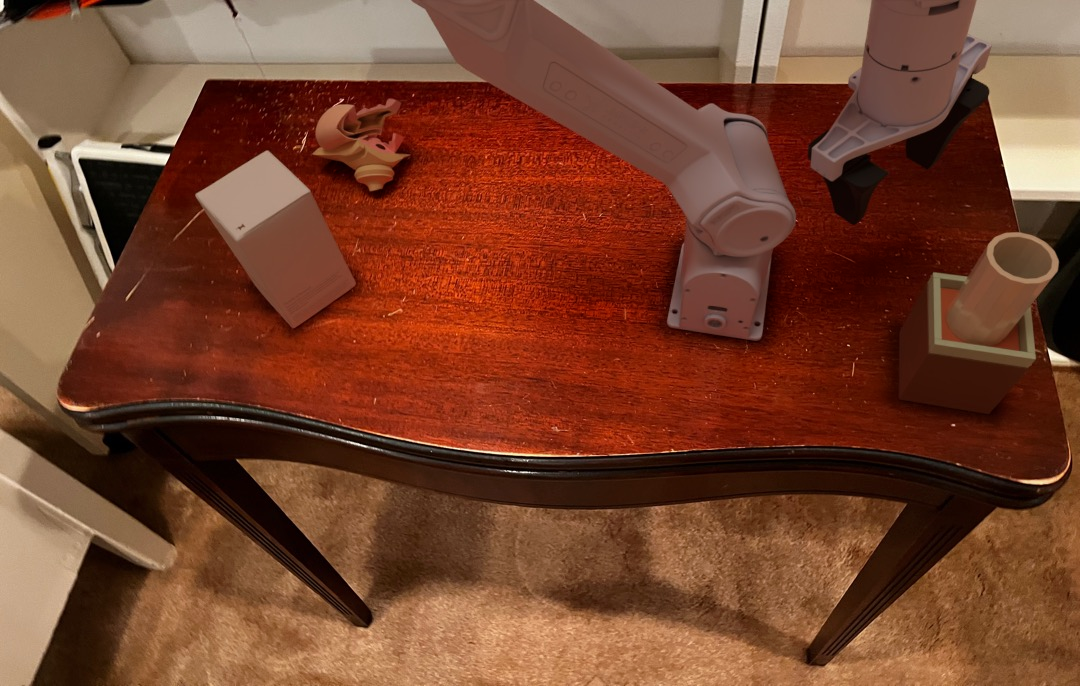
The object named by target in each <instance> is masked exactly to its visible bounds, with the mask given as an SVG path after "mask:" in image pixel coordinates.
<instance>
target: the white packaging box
mask: <svg viewBox="0 0 1080 686" xmlns="http://www.w3.org/2000/svg"><path fill="white" fill-rule="evenodd" d="M194 195H195V198H196V200H197V201H198V203H199V204H200V206H201V208H202V209H203V210H204V213H205V215H207V217H208V218H209V220H210V222H211V223H212V224H213V225H214V227H215V229H216V230H217V232H218V233H219V234H220V236H221V237H222V239H223V240H224V242H225V243H226V244H227V247H229V249H230V250H231V252H232V253H233V255H234V256H235V258H236V260H237V261H238V262H239V263H240V265H241V266H242V268H243V269H244V271H245V273H246V274H247V276H248V277H249V279H250V280H251V282H252V283H253V285H254V287H256V289H257V290H258V292H260V293H261V295H262V296H263V297H264V298H265V299H266V301H267V302H268V303H269V305H270V306H272V307H273V309H274V310H275V311H276V312H277V313H278V314H279V315H280V316H281V318H282V319H283V320H284V321H285V322H286V323H287V324H288V325H289V327H291V328H292V329H296V328H297V327H298V326H300V325H301V324H303V323H305V322H306V321H308V320H309V319H310V318H311V317H313V316H315V315H316V314H317V313H319V312H320V311H322V310H323V309H325V308H326V307H328V306H329V305H330V304H332V303H334V302H335V301H336V300H338V299H339V298H340V297H342V296H343V295H345V294H347V292H349V291H350V290H351V289H353V288H354V287H355V286H356V284H357V282H356V280H355V278H354V276H353V274H352V272H351V270H350V267H349V266H348V264H347V261H346V260H345V258H344V256H343V254H342V252H341V250H340V248H339V245H338V244H337V242H336V240H335V238H334V235H333V233H332V232H331V230H330V227H329V226H328V223H327V222H326V220H325V218H324V216H323V214H322V211H321V210H320V208H319V205H318V203H317V201H316V199H315V197H314V196H313V193H312V191H311V189H310V188H309V187H307V185H306V184H305V183H304V182H302V180H301V179H299V178H298V176H296V175H295V174H294V173H293V171H291V170H290V169H289V168H287V166H286V165H284V164H283V163H282V162H281V160H279V159H278V158H277V157H276V156H275V155H274V154H273V153H272V152H271V151H270V150H265V151H263V152H262V153H260V154H258V155H257V156H254V157H253V158H252V159H250V160H249V161H246V162H245V163H244V164H242V165H240V166H239V167H237V168H236V169H234V170H232V171H231V172H229V173H227V174H226V175H225V176H223V177H221V178H220V179H218V180H216V181H214V183H211V184H210V185H208V186H207V187H205V188H204V189H202V190H200V191H198V192H196V193H195V194H194Z"/></svg>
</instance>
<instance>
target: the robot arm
mask: <svg viewBox="0 0 1080 686" xmlns="http://www.w3.org/2000/svg"><path fill="white" fill-rule="evenodd" d="M410 1H411V2H412V3H413V4H415V5H417V6H418V7H420V8H422V9H424V10H425V11H426V13H427V15H428V17H429V18H430V20H431V22H432V24H433V25H434V27H435V29H436V31H437V33H438V34H439V35H440V37H441V39H442V41H443V42H444V44H445V46H446V47H447V49H448V51H449V52H450V55H451V56H452V58H453V59H454V61H455V62H456V63H457V64H458V65H459V66H461V67H462V68H463V69H465V70H466V71H467V72H469V73H471V74H473V75H475V76H476V77H478V78H480V79H481V80H483V81H484V82H486V83H489V84H490V85H492V86H493V87H494V88H497V89H499V90H501V91H503V92H504V93H505V94H507V95H509V96H511V97H513V98H515V99H516V100H518V101H519V102H521V103H523V104H525V105H526V106H528V107H530V108H532V109H533V110H535V111H536V112H539V113H541V114H542V115H544V116H546V117H548V118H549V119H551V120H553V121H554V122H556V123H558V124H560V125H561V126H563V127H565V128H567V129H569V130H570V131H572V132H574V133H576V134H577V135H579V136H581V137H582V138H583V139H586V140H588V141H589V142H591V143H593V144H595V145H596V146H598V147H600V148H601V149H603V150H605V151H606V152H608V153H610V154H612V155H614V156H616V157H617V158H619V159H621V160H622V161H624V162H626V163H627V164H630V165H631V166H633V167H635V168H636V169H637V170H640V171H641V172H643V173H645V174H647V175H648V176H650V177H652V178H654V179H655V180H657V181H659V182H660V183H663V184H664V185H665V186H666V188H667V189H668V191H669V193H670V194H671V195H672V197H673V199H674V200H675V201H676V203H677V205H678V207H679V208H680V210H681V212H682V213H683V214H684V217H686V222H685V229H684V230H685V233H684V241H683V243H682V244H681V249H680V253H679V259H678V265H677V269H676V274H675V279H674V284H673V289H672V295H671V300H670V304H669V309H668V310H669V311H668V315H667V320H666V324H667V326H668V328H671V329H677V330H683V331H684V330H685V331H690V332H697V333H703V334H709V335H715V336H722V337H723V336H724V337H729V338H734V339H742V340H748V341H755V342H757V341H760V340H762V337H763V333H764V332H763V330H764V324H765V323H764V322H765V316H766V315H765V314H766V308H767V307H766V305H767V296H768V290H769V281H770V271H771V264H772V254H773V251H774V248H776V247H777V246H779V245H780V244H781V243H782V242H784V241H785V240H786V239H787V238H788V237H789V236H790V234H791V233H792V232H793V230H794V228H795V226H796V222H797V214H796V210H795V207H794V206H793V204H792V203H791V201H790V200H789V196H788V194H787V192H786V188H785V185H784V184H783V180H782V178H781V175H780V172H779V169H778V166H777V163H776V160H775V157H774V154H773V152H772V149H771V146H770V144H769V136H768V135H769V134H768V130H767V128H766V126H765V125H764V124H763V123H762V121H760V120H759V119H758V118H756V117H754V116H753V115H749V114H746V113H734V112H731V111H730V112H729V111H726V110H724V109H722V108H720V107H719V106H718V105H716V104H715V103H708V104H706V105H704V106H702V107H700V108H698V109H696V108H695V107H693V106H691V104H689V103H687V102H686V101H684V100H683V99H682V98H679V96H676V95H675V94H674V93H672V92H671V91H669V90H668V89H666V87H663V86H662V85H660V84H659V83H657V82H656V81H655V80H653V79H651V78H650V77H648V76H647V75H645V74H644V73H643V72H641V71H640V70H638V69H637V68H635V67H634V66H632V65H631V64H629V63H628V62H627V61H625V60H623V59H622V58H621V57H619V56H618V55H616V54H614V53H613V52H612V51H610V50H609V49H607V48H605V46H603V45H601V44H600V43H599V42H597V41H595V40H594V39H592V38H591V37H589V36H588V35H586V34H585V33H583V32H582V31H580V30H579V29H577V28H576V27H575V26H573V25H572V24H570V23H569V22H568V21H566V20H564V19H563V18H561V17H560V16H558V15H557V14H555V13H554V12H552V11H551V10H549V8H546V7H545V6H543V5H542V4H540V3H539V2H538V1H537V0H410ZM977 1H978V0H871V1H870V8H869V13H868V15H869V16H868V21H867V30H866V35H865V42H864V48H863V55H862V63H861V67H860V68H859V69H857V70H856V71H854V72H853V73H851V74H850V75H849V77H848V80H847V81H848V82H847V87H848V88H849V89H851V90H852V91H854V92H853V93H852V95H851V96H850V98H849V99H848V101H847V102H846V104H845V105H844V107H843V109H842V110H841V111H840V114H839V115H838V116H837V118H836V119H835V121H834V123H833V124H832V125H831V126H830V129H827V130H825V131H824V132H823V133H821V134H820V135H819V136H817V137H816V138H814V139H813V140H812V141H810V143H809V144H808V148H807V149H808V150H807V159H808V160H809V161H810V169H812V170H813V171H815V172H816V173H818V174H819V175H820V176H821V177H822V178H823V180H824V182H825V185H826V187H827V189H828V192H829V196H830V198H831V202H832V207H833V212H834V213H835V214H836V215H837V216H839V217H840V218H842V219H843V220H845V221H846V222H847V223H849V224H850V225H852V226H855V225H857V224H858V223H860V222H861V221H862V220H863V218H864V217H865V215H866V213H867V210H868V207H869V203H870V200H871V197H872V195H873V193H874V192H875V190H876V189H877V187H878V186H879V184H880V183H881V182H882V181H883V180H884V179H885V178H886V177H887V176H888V175H890V174H891V173H890V172H889V171H888V170H885V169H884V168H882V167H880V166H879V165H877V164H876V163H875V162H873V161H871V159H872V155H870V154H869V153H871V152H874V151H877V150H880V149H882V148H885V147H888V146H891V145H894V144H896V143H899V142H901V141H904V140H905V156H906V158H907V159H908V160H910V161H912V162H914V163H915V164H917V165H919V166H920V167H922V168H924V169H925V170H927V171H928V170H929V169H931V168H932V167H933V166H935V164H936V163H937V162H938V160H939V159H940V158H941V156H942V154H943V153H944V152H945V150H946V148H947V147H948V144H949V143H950V142H951V140H952V139H953V137H954V136H955V134H956V133H957V132H958V130H959V129H960V128H961V126H962V125H963V124H964V123H965V121H966V120H967V119H968V118H969V117H971V115H972V114H973V113H974V112H975V111H976V110H977V109H979V107H980V106H982V105H983V104H984V103H985V102H987V101H988V99H989V96H990V88H989V86H988V85H987V84H985V83H983V82H981V81H979V80H978V79H976V78H973V75H977V74H979V73H981V71H983V70H984V69H985V68H986V66H987V63H988V60H989V57H990V53H991V50H992V48H993V47H992V46H993V45H992V44H990V43H988V42H986V41H984V40H982V39H980V38H978V37H975V36H973V35H971V34H969V31H970V26H971V22H972V19H973V16H974V11H975V9H976V4H977ZM674 312H675V313H674Z"/></svg>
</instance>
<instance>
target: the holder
mask: <svg viewBox="0 0 1080 686" xmlns="http://www.w3.org/2000/svg"><path fill="white" fill-rule="evenodd" d="M967 277H968V276H964V275H958V274H951V273H950V274H949V273H943V272H935V271H933V272H932V274H931V276H930V277H929V279H928V281H926V283H925V285H924V286H923V288H922V290H921V292H920V294H919V295H918V297H917V299H916V301H915V303H914V304H913V307H912V308H911V309H910V311H909V314H908V316H907V317H906V319H905V321H904V322H903V324H902V326H901V328H900V330H899V333H898V339H899V340H898V400H900V401H905V402H910V403H911V402H913V403H917V404H923V405H929V406H935V407H942V408H947V409H953V410H960V411H965V412H966V411H967V412H972V413H977V414H984V415H990V414H991V412H992V411H993V410H995V408H996V407H997V406H998V405H999V404H1000V402H1001V401H1002V400H1003V399H1004V398H1005V397H1006V396H1007V395H1008V393H1009V392H1010V391H1011V390H1012V389H1013V388H1014V387H1015V385H1016V384H1017V383H1019V381H1020V379H1022V377H1023V376H1024V375H1025V374H1026V373H1027V371H1029V369H1030V366H1032V364H1033V363H1034V362H1035V361H1036V360H1037V355H1036V347H1035V346H1036V345H1035V337H1034V336H1035V335H1034V325H1033V324H1034V323H1033V316H1032V315H1033V314H1032V305H1031V306H1030V307H1029V309H1028V310H1027V311H1026V313H1025V314H1024V315H1023V316H1022V318H1021V319H1020V320H1019V322H1018V323H1017V324H1016V325H1015V327H1014V328H1013V329H1012V330H1011V332H1010V333H1009V334H1008V335H1007V337H1006V338H1005V339H1004V340H1003V341H1002V342H1000V343H998V344H996V345H992V346H981V345H974V344H969V343H967V342H965V341H963V340H961V339H960V338H958V337H957V336H956V335H955V334H954V333H953V332H952V331H951V330H950V328H949V326H948V324H947V320H946V314H947V311H948V309H949V307H950V305H951V303H952V301H953V300H954V298H955V297H956V295H957V293H958V292H959V290H960V289H961V287H962V285H963V284H964V282H965V281H966V279H967Z"/></svg>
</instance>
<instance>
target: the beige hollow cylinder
mask: <svg viewBox="0 0 1080 686" xmlns="http://www.w3.org/2000/svg"><path fill="white" fill-rule="evenodd" d="M1059 264H1060V261H1059V258H1058V255H1057V253H1056V251H1055V250H1054V249H1053V248H1052V247H1051V246H1050V245H1049V244H1048V243H1047V242H1046V241H1044V240H1042V239H1040V238H1039V237H1038V236H1035V235H1032V234H1028V233H1024V232H1019V231H1016V232H1015V231H1014V232H1004V233H1002V234H999V235H997V236H994V237H993V238H992V239H991V240H990V242H989V243H988V244H987V245H986V247H985V248H984V250H983V252H982V253H981V255H980V256H979V258H978V260H977V261H976V263H975V264H974V266H973V268H972V269H971V271H970V272H969V274H968V275H967V276H966V277H967V279H966V281H965V282H964V284H963V285H962V287H961V289H960V290H959V292H958V293H957V295H956V297H955V298H954V300H953V301H952V303H951V305H950V307H949V309H948V311H947V314H946V320H947V324H948V326H949V328H950V330H951V331H952V332H953V333H954V334H955V335H956V336H957V337H958V338H960V339H961V340H963V341H965V342H967V343H969V344H974V345H981V346H992V345H996V344H998V343H1000V342H1002V341H1003V340H1004V339H1005V338H1006V337H1007V335H1008V334H1009V333H1010V332H1011V330H1012V329H1013V328H1014V327H1015V325H1016V324H1017V323H1018V322H1019V320H1020V319H1021V318H1022V316H1023V315H1024V314H1025V313H1026V311H1027V310H1028V309H1029V307H1030V306H1031V307H1032V306H1033V304H1034V302H1035V301H1036V300H1037V298H1038V297H1039V296H1040V295H1041V294H1042V292H1043V291H1044V290H1045V288H1046V287H1047V286H1048V285H1049V283H1050V282H1051V280H1053V278H1054V277H1055V275H1056V274H1057V273H1058V271H1059V266H1060V265H1059Z"/></svg>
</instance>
